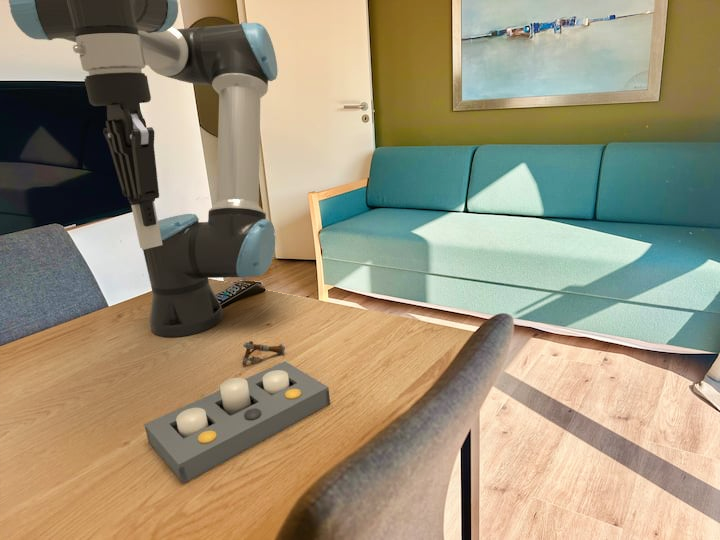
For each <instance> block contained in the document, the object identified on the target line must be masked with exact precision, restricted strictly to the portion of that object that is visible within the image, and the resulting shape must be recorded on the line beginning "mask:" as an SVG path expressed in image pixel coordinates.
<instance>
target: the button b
mask: <svg viewBox="0 0 720 540" xmlns="http://www.w3.org/2000/svg"><path fill="white" fill-rule="evenodd" d="M219 390H220V391H221V397H222V402H223V408H224V409H223V410H224V411H225V412H226V413H227V414H228V415H229V416H231V415H233V414H235V413H237V412H239V411H241V410H243V409H245V408H247V407H249V406H251V405H252V403H251V402H252V401H251V398H250V395H249V389H248V383H247V380H246V378H243V377H233V378H228V379H226V380H225V381H223V382H222V383H221V384H220V385H219Z"/></svg>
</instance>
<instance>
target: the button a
mask: <svg viewBox="0 0 720 540" xmlns="http://www.w3.org/2000/svg"><path fill="white" fill-rule="evenodd" d="M176 422H177V426H178V431H177V432H178V434H179V435H180V436H181V437H182V438H183V439H184V438H186V437H188V436H190V435H192V434H194V433H196V432H198V431H200V430H202V429H204V428H206V427H208V426H209V423H208V422H209V421H208V418H207V417H206V412H205V410H204V409H202V408H190V409H187V410H185V411H183V412H181V413H180V414H179V415H178V416H177V418H176Z"/></svg>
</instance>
